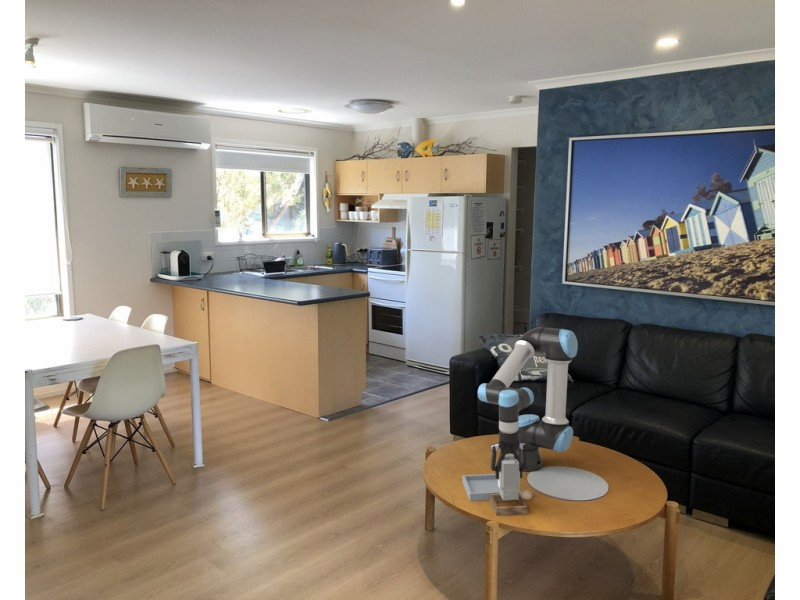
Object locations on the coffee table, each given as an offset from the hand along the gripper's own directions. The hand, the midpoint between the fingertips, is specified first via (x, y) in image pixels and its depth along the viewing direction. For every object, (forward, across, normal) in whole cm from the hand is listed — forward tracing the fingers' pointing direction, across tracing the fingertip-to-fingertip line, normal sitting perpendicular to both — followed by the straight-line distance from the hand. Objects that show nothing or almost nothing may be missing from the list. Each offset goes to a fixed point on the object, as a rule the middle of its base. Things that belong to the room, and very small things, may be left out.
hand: (508, 485), depth 240 cm
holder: (+9, 0, 0) cm, 9 cm away
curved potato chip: (+9, -8, -10) cm, 15 cm away
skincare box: (+4, 0, 0) cm, 4 cm away
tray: (+9, +6, -16) cm, 19 cm away
